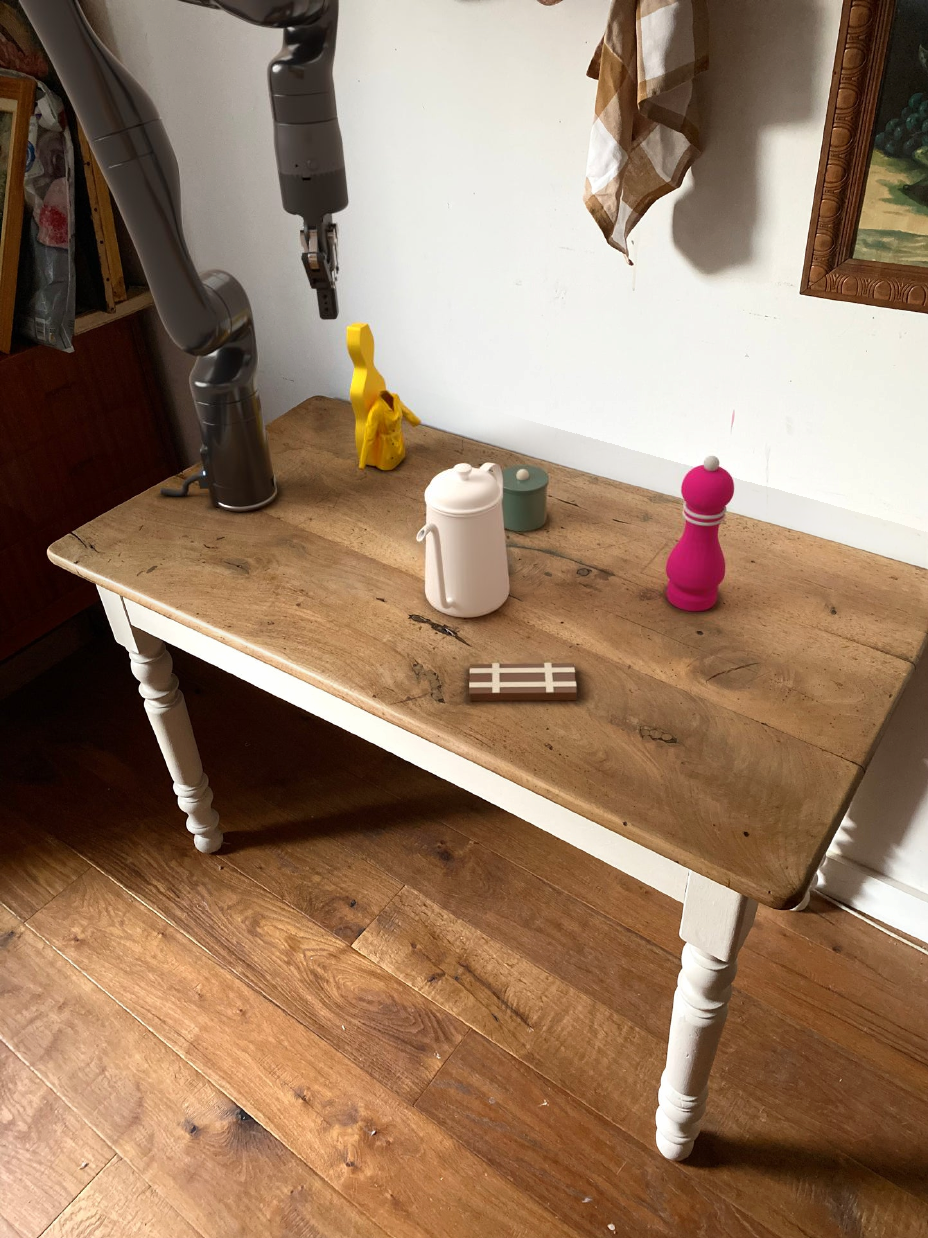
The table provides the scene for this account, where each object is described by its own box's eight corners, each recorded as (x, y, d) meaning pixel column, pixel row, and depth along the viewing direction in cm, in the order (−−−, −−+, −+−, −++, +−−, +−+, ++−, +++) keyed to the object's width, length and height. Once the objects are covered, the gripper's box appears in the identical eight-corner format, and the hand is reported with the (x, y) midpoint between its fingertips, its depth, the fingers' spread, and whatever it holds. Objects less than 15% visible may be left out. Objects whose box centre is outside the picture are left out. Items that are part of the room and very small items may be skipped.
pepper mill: (723, 585, 118) (748, 446, 106) (716, 618, 113) (741, 475, 101) (667, 576, 120) (685, 438, 108) (658, 608, 115) (675, 467, 103)
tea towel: (469, 701, 103) (469, 692, 102) (470, 671, 107) (469, 663, 106) (576, 700, 102) (577, 691, 101) (573, 670, 106) (573, 662, 105)
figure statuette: (373, 490, 140) (358, 352, 127) (331, 479, 144) (313, 343, 130) (431, 441, 153) (423, 310, 139) (391, 432, 156) (380, 303, 142)
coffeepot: (386, 646, 111) (371, 513, 99) (463, 539, 129) (458, 416, 117) (469, 666, 107) (464, 531, 96) (536, 554, 125) (539, 428, 114)
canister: (496, 532, 130) (496, 483, 125) (496, 505, 136) (496, 457, 131) (549, 532, 130) (550, 482, 125) (546, 505, 136) (547, 456, 131)
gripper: (287, 151, 107) (307, 299, 118) (266, 178, 97) (290, 338, 108) (351, 149, 107) (365, 298, 118) (336, 176, 97) (353, 336, 107)
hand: (329, 317), depth 113 cm, fingers closed
